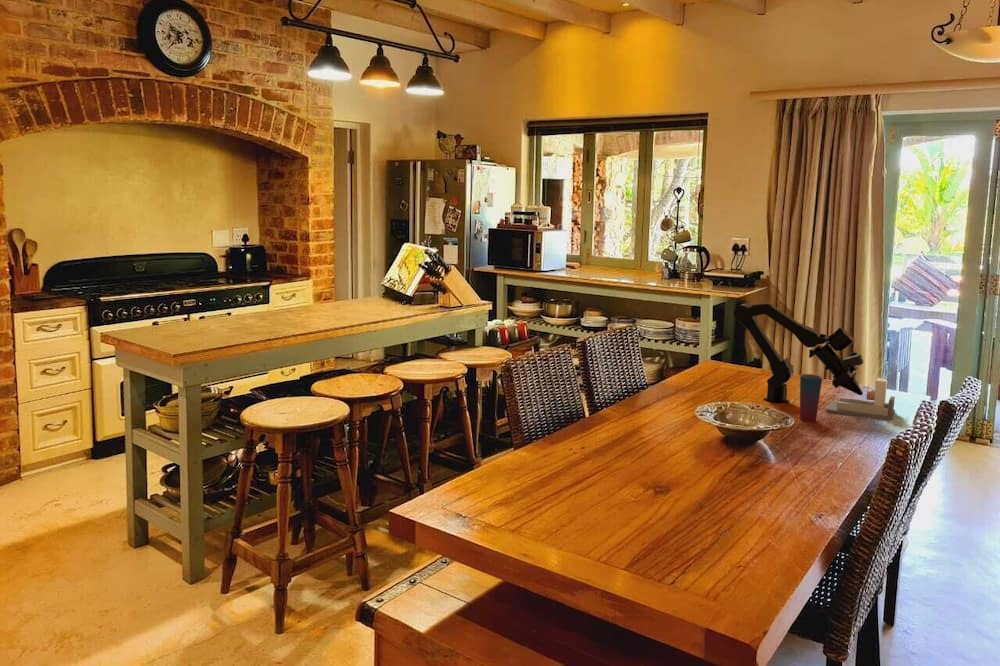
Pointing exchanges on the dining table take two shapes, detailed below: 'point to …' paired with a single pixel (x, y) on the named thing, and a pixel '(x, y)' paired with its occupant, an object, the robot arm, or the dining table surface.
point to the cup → (809, 396)
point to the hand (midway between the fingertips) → (861, 394)
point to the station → (863, 408)
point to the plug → (878, 393)
